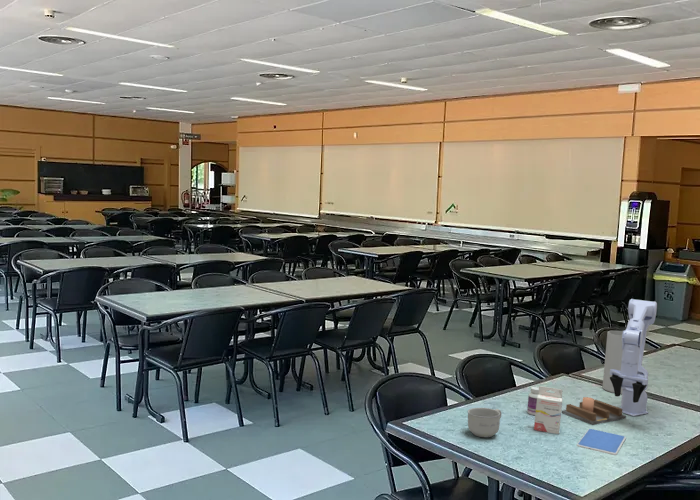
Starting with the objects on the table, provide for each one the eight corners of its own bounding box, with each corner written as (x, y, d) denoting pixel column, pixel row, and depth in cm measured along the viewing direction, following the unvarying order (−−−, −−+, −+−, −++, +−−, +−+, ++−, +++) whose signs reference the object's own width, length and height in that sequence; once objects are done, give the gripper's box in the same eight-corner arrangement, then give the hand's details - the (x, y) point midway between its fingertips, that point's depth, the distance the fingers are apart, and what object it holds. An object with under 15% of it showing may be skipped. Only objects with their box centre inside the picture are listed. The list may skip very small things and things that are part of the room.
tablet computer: (616, 457, 214) (616, 453, 213) (575, 447, 220) (576, 443, 220) (626, 440, 230) (626, 436, 230) (588, 431, 237) (588, 427, 236)
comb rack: (594, 407, 264) (595, 398, 264) (625, 418, 252) (626, 409, 252) (561, 413, 254) (562, 404, 254) (592, 425, 242) (593, 415, 242)
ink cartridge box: (533, 430, 233) (537, 389, 231) (534, 426, 237) (538, 385, 236) (559, 434, 230) (563, 392, 229) (559, 430, 235) (563, 389, 233)
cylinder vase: (599, 385, 297) (604, 329, 295) (628, 387, 295) (634, 332, 293) (606, 393, 285) (611, 335, 283) (636, 396, 283) (642, 337, 281)
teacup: (479, 442, 219) (481, 418, 218) (459, 430, 228) (461, 407, 227) (512, 437, 225) (514, 413, 224) (491, 426, 235) (493, 403, 234)
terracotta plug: (586, 412, 254) (587, 396, 253) (595, 415, 250) (596, 399, 250) (579, 413, 251) (580, 397, 251) (587, 416, 248) (589, 400, 248)
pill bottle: (542, 416, 248) (544, 391, 248) (527, 414, 250) (529, 389, 249) (541, 412, 254) (543, 387, 253) (526, 410, 255) (528, 385, 254)
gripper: (605, 358, 247) (602, 394, 248) (640, 368, 235) (637, 406, 236) (618, 357, 251) (614, 392, 252) (653, 366, 239) (649, 403, 240)
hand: (626, 399), depth 244 cm, fingers open, 7 cm apart
